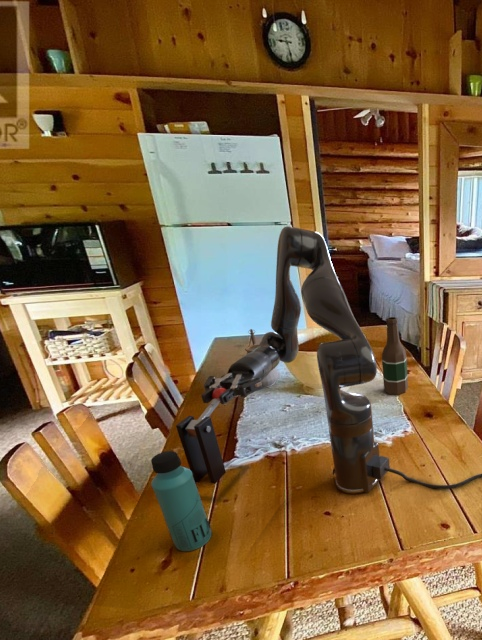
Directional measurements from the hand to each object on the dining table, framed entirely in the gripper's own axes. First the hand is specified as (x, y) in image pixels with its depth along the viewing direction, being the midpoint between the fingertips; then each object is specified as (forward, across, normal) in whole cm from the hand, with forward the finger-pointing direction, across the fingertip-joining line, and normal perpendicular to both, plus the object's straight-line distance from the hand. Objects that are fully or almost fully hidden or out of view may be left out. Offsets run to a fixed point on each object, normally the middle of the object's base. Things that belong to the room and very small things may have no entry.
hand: (213, 399), depth 99 cm
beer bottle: (-45, +31, +18) cm, 58 cm away
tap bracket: (+8, 0, +17) cm, 19 cm away
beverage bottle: (+27, +8, +17) cm, 33 cm away
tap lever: (+2, 0, +3) cm, 4 cm away
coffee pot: (-49, -17, +18) cm, 55 cm away
